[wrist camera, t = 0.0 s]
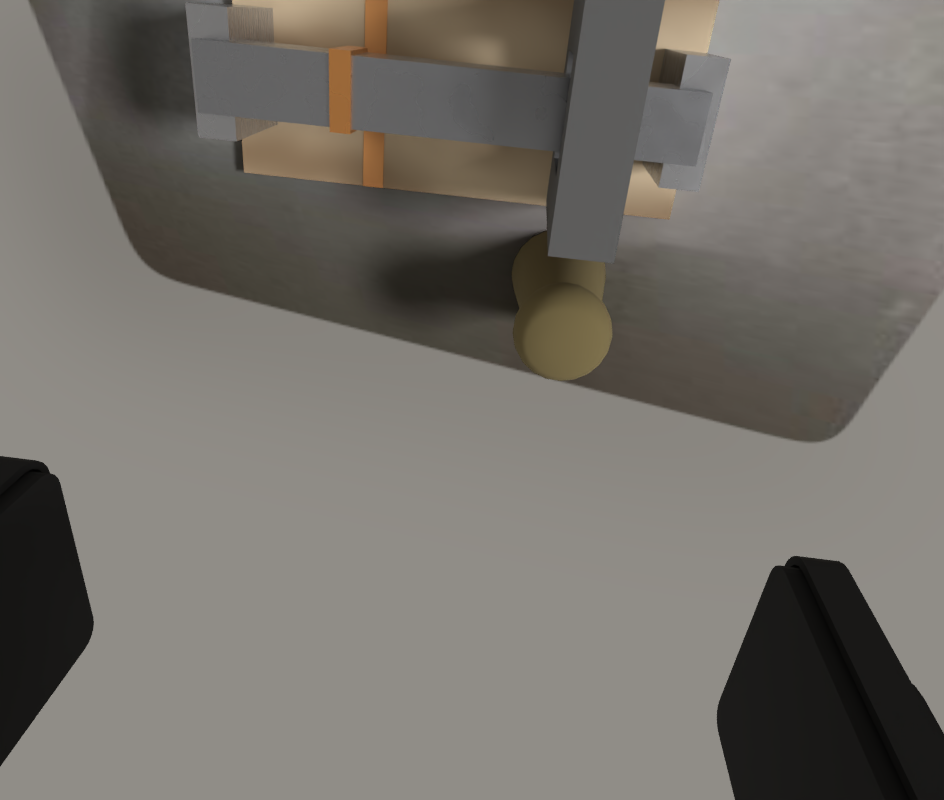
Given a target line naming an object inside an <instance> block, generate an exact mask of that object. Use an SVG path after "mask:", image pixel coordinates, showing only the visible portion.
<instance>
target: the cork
mask: <svg viewBox="0 0 944 800" xmlns="http://www.w3.org/2000/svg"><path fill="white" fill-rule="evenodd" d="M511 275H512V282H513V289H514V292H515V295H516V299H517V302H518V306H519V310H518V312H517V314H516V317H515V322H514V327H513V338H514V345H515V348H516V350H517V352H518V354H519V356H520V358H521V360H522V361H523V363H524V364H525V365H526V366H527V367H528V368H529V369H530V370H532V371H533V372H534V373H536V374H538V375H540V376H542V377H544V378H547V379H553V380H558V381H563V380H572V379H576V378H579V377H581V376H584V375H586V374H588V373H590V372H591V371H592V370H593V369H595V368H596V367H597V366H598V365H599V364H600V363H601V361H602V360H603V359H604V357H605V356H606V354H607V352H608V350H609V346H610V342H611V339H612V324H611V318H610V316H609V313H608V311H607V309H606V307H605V305H604V303H603V302H602V298H603V291H604V284H605V278H606V274H605V262H596V261H587V260H578V259H569V258H560V257H552V256H548V245H547V231H544V232H542V233H540V234H538V235H536V236H534V237H532V238H531V239H530V240H529V241H528V242H527V243H526V244H524V245H523V246H522V247H521V249H520V251H519V252H518V254H517V256H516V258H515V259H514V263H513V268H512V274H511Z"/></svg>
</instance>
